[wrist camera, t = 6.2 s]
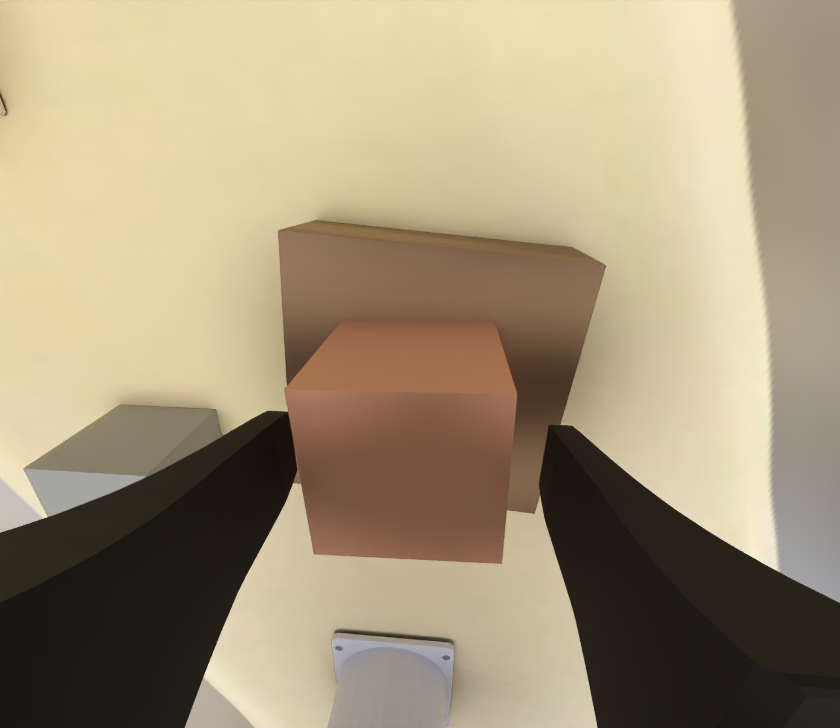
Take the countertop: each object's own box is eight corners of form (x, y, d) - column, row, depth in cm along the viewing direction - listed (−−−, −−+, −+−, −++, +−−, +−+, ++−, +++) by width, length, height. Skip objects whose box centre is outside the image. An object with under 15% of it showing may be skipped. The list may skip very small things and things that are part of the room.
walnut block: (519, 452, 20) (534, 513, 16) (321, 428, 20) (292, 482, 16) (570, 246, 15) (606, 265, 12) (318, 219, 16) (277, 230, 12)
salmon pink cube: (486, 447, 15) (501, 563, 10) (355, 444, 15) (313, 554, 11) (494, 320, 13) (517, 393, 8) (342, 319, 13) (284, 389, 9)
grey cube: (235, 487, 22) (177, 567, 17) (148, 481, 22) (69, 559, 17) (216, 408, 20) (145, 476, 15) (121, 403, 20) (23, 468, 15)
